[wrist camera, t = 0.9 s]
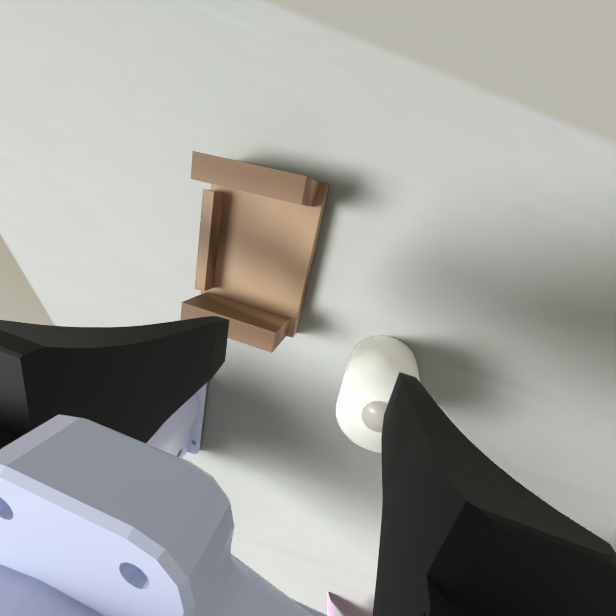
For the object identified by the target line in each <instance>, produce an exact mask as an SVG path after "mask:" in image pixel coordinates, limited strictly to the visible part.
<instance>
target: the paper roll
mask: <svg viewBox="0 0 616 616" xmlns="http://www.w3.org/2000/svg"><path fill="white" fill-rule="evenodd" d="M399 372H401V373H404V374H407V375H410V376H414V377H416V378H417V379H418V380H419V382H420V378H419V373H418V367H417V362H416V359H415V356H414V354H413V352H412V351H411V350H410V348H409V347H408V346H407V345H406V344H404V343H403V342H401V341H400V340H398V339H395V338H393V337H389V336H373V337H369V338H366V339H364V340H362V341H361V342H359V343H358V344H357V345H356V346H355V347H354V349H353V350H352V352H351V354H350V357H349V361H348V364H347V368H346V371H345V375H344V378H343V382H342V386H341V389H340V393H339V396H338V400H337V404H336V417H337V421H338V424H339V426H340V428H341V429H342V431H343V432H344V434H345V435H346V436H347V437H348V438H349V439H350V440H351V441H353V442H354V443H355V444H357V445H359V446H360V447H362V448H365V449H367V450H370V451H374V452H379V453H382V450H381V436H382V426H383V418H384V413H385V410H386V408H387V405H388V402H389V399H390V396H391V394H392V391H393V388H394V385H395V383H396V380H397V377H398V374H399Z"/></svg>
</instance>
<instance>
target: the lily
mask: <svg viewBox="0 0 616 616" xmlns="http://www.w3.org/2000/svg"><path fill="white" fill-rule="evenodd" d="M327 615H328V616H334V613H333V609H332V606H331V602H330V597H329V593H327Z"/></svg>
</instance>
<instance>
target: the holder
mask: <svg viewBox="0 0 616 616" xmlns="http://www.w3.org/2000/svg"><path fill="white" fill-rule="evenodd" d="M191 179H194V180H198V181H202V182H207V183H211V190H206V189H203V199H202V210H201V222H200V234H199V245H198V257H197V269H196V280H195V289H198V290H201V295H199V296H196V297H194V298H191V299H189V300H186V301H184V302H182V310H181V320H186V319H193V318H199V317H207V316H218V317H222V318H225V319H228V320H229V329H228V337H227V338H230V339H233V340H236V341H239V342H242V343H245V344H248V345H251V346H254V347H257V348H260V349H263V350H266V351H269V352H273V351H274V349H275V348H276V347H277V346H278V345H279V344H280V343H281V341H282V340H283V339H284V338H285V337H286V336H289V337H292V338H293V336H294V335H295V334H296V332H297V328H298V323H299V319H300V314H301V310H302V306H303V301H304V297H305V292H306V288H307V283H308V279H309V275H310V270H311V266H312V261H313V257H314V252H315V248H316V244H317V239H318V235H319V230H320V226H321V221H322V217H323V213H324V208H325V204H326V199H327V195H328V190H329V186H330V185H328V184H325V183H320V182H318V181H316V180H314V179H312V178H310V177H307V176H304V175H299V174H295V173H290V172H286V171H281V170H277V169H272V168H267V167H263V166H258V165H254V164H249V163H245V162H240V161H236V160H231V159H227V158H222V157H217V156H213V155H208V154H204V153H199V152H195V151H193V156H192V170H191Z"/></svg>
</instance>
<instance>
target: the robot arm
mask: <svg viewBox="0 0 616 616" xmlns="http://www.w3.org/2000/svg"><path fill="white" fill-rule="evenodd" d="M228 329H229V320H228V319H225V318H222V317H218V316H207V317H199V318H193V319H186V320H180V321H174V322H167V323H159V324H152V325H143V326H132V327H111V328H108V327H62V326H49V325H48V326H47V325H37V324H28V323H21V322H12V321H4V320H0V616H327V615H325V614H323V613H320V612H318V611H316V610H314V609H312V608H310V607H308V606H306V605H304V604H302V603H299V602H297V601H295V600H293V599H291V598H289V597H288V596H286V595H285V594H284V593H282V592H281V591H280V590H279V589H277V588H276V587H275V586H273V585H272V584H271V583H269V582H268V581H267V580H265V579H264V578H263V577H261V576H260V575H259V574H257V573H256V572H255V571H253V570H252V569H251V568H249V567H248V566H247V565H245V564H244V563H243V562H241V561H240V560H239V559H238V558H236V557H235V556H234V555H232V554H231V542H232V536H233V530H234V523H233V517H232V511H231V505H230V501H229V499H228V497H227V496H226V494H225V493H224V491H223V490H222V489H221V487H220V486H219V485H218V483H217V482H216V480H215V479H214V478H213V477H212V476H211V475H209V474H208V473H206V472H205V471H203V470H202V469H200V468H199V467H197V466H196V465H194V464H192V463H191V462H189V461H187V460H184V459H182V457H183V456H184V455H185V454H186V453H187V452H190V453H192V454H197V453H198V452H199V450H200V442H201V433H202V424H203V416H204V407H205V398H206V390H207V382H208V381H209V380H210V379H211V378H212V377H213V376H214V374H215V373H216V372H217V371H218V370H219V368H220V367H221V366H222V364H223V363H224V362H225V354H226V346H227V337H228ZM381 450H382V487H383V507H382V521H381V535H380V546H379V558H378V569H377V579H376V589H375V599H374V608H373V616H616V553H615V551H614V550H613V548H612V547H611V545H610V544H609V543H607V542H606V541H604V540H603V539H601V538H600V537H598V536H596V535H595V534H593V533H592V532H590V531H589V530H587V529H585V528H584V527H582V526H581V525H579V524H578V523H576V522H574V521H573V520H571V519H570V518H568V517H567V516H565V515H563V514H562V513H560V512H559V511H557V510H556V509H554V508H553V507H551V506H550V505H549V504H547V503H546V502H544V501H543V500H542V499H540V498H539V497H537V496H536V495H535V494H533V493H532V492H530V491H529V490H528V489H526V488H525V487H524V486H522V485H521V484H520V483H518V482H517V481H516V480H514V479H513V478H512V477H511V476H509V475H508V474H507V473H506V472H504V471H503V470H502V469H501V468H500V467H498V466H497V465H496V464H495V463H493V462H492V461H491V460H490V459H489V458H488V457H487V456H485V455H484V454H483V453H482V452H481V451H480V450H479V449H478V448H477V447H476V446H475V445H474V444H473V443H472V442H470V441H469V440H468V439H467V438H466V437H465V436H464V435H463V434H462V433H461V431H460V430H459V429H458V428H457V427H456V426H455V425H454V424H453V423H452V422H451V420H450V419H449V418H448V417H447V416H446V415H445V414H444V412H443V411H442V410H441V409H440V407H439V406H438V405H437V404H436V402H435V401H434V400H433V399H432V397H431V396H430V395H429V393H428V392H427V391H426V389H425V388H424V387H423V386H422V384H421V383H420V382H419V380H418V379H417V378H416V377H414V376H410V375H407V374H404V373H401V372H399V374H398V377H397V380H396V383H395V385H394V388H393V391H392V394H391V396H390V399H389V402H388V405H387V408H386V410H385V413H384V418H383V426H382V436H381Z"/></svg>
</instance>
